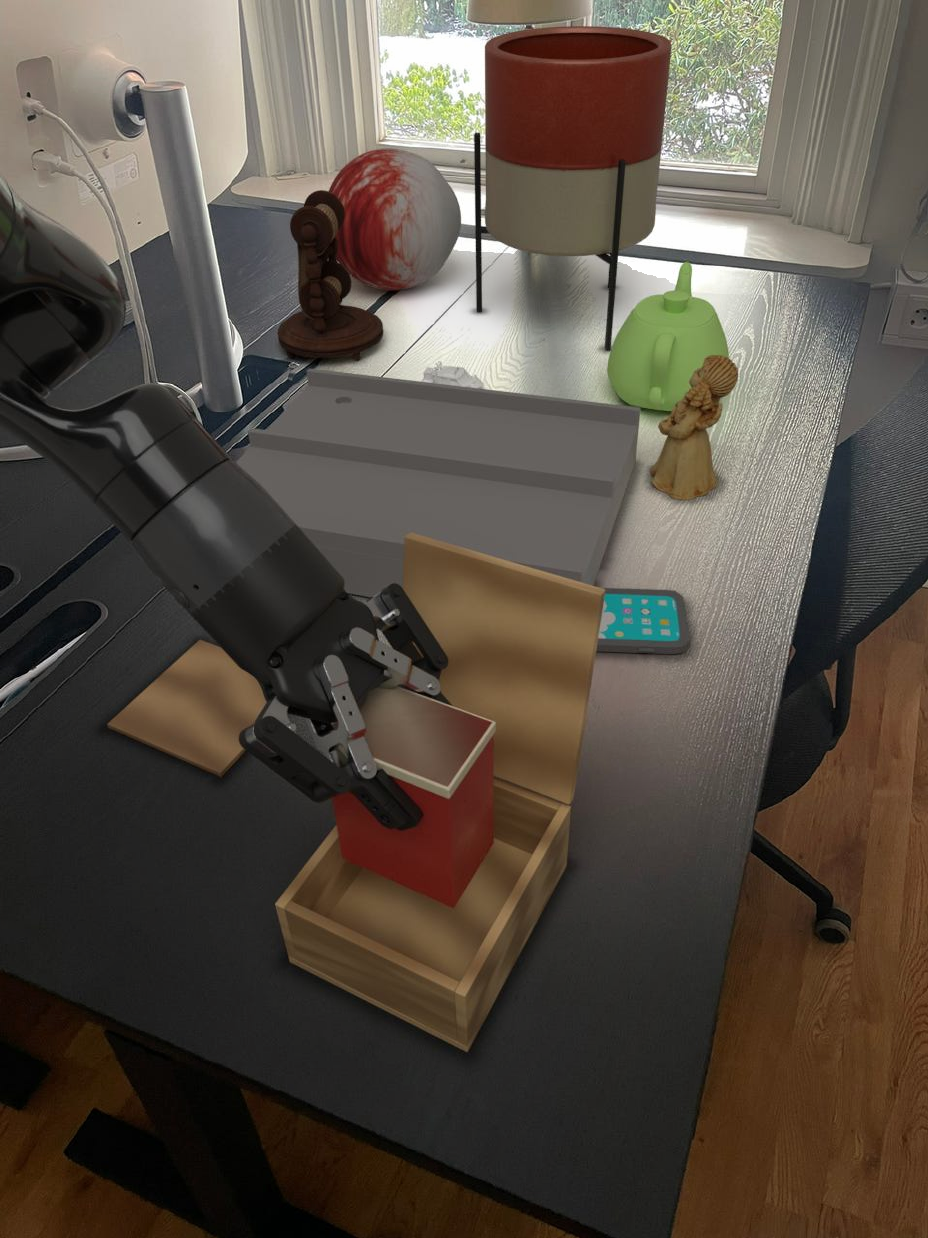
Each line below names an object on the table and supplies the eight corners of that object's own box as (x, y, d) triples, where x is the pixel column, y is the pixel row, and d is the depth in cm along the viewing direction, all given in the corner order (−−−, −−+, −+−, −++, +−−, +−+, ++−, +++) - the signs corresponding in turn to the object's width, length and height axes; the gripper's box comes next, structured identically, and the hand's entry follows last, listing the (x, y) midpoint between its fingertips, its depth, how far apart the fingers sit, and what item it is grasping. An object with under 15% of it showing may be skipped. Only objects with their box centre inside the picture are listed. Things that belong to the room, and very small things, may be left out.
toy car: (431, 383, 129) (429, 353, 126) (489, 390, 127) (489, 360, 124) (419, 399, 125) (417, 369, 123) (478, 407, 123) (478, 377, 121)
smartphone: (524, 582, 94) (682, 587, 93) (524, 591, 94) (681, 595, 93) (520, 642, 87) (690, 648, 86) (520, 650, 88) (689, 656, 87)
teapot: (623, 348, 136) (631, 253, 127) (733, 359, 132) (749, 263, 124) (591, 422, 120) (598, 319, 111) (715, 438, 116) (732, 333, 108)
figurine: (652, 459, 113) (667, 335, 103) (720, 466, 111) (742, 341, 102) (646, 496, 107) (660, 368, 97) (717, 503, 105) (740, 375, 96)
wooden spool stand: (295, 321, 145) (276, 180, 132) (393, 325, 143) (382, 182, 130) (267, 365, 134) (242, 215, 121) (372, 370, 132) (358, 218, 119)
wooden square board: (221, 777, 77) (220, 773, 77) (108, 728, 82) (106, 724, 81) (308, 683, 85) (307, 679, 85) (200, 643, 90) (199, 639, 90)
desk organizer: (577, 633, 89) (580, 572, 85) (189, 564, 99) (174, 507, 94) (635, 462, 112) (640, 407, 108) (316, 420, 122) (309, 367, 117)
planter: (679, 304, 147) (713, 34, 124) (588, 364, 132) (608, 70, 109) (550, 271, 158) (559, 18, 135) (453, 323, 143) (445, 48, 121)
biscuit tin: (454, 911, 58) (448, 790, 51) (339, 859, 61) (319, 738, 54) (496, 842, 62) (496, 721, 55) (386, 797, 65) (372, 676, 58)
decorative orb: (336, 316, 146) (320, 175, 133) (327, 268, 161) (312, 137, 149) (473, 303, 149) (471, 164, 136) (451, 257, 164) (448, 128, 151)
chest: (467, 1053, 60) (465, 996, 56) (289, 962, 65) (274, 904, 61) (566, 866, 70) (571, 806, 66) (406, 800, 75) (401, 740, 71)
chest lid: (601, 594, 57) (606, 588, 57) (403, 536, 62) (410, 531, 62) (569, 805, 65) (573, 798, 66) (397, 739, 70) (403, 733, 71)
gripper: (179, 616, 46) (414, 868, 49) (348, 471, 55) (534, 689, 58) (121, 665, 51) (336, 889, 54) (284, 525, 61) (458, 723, 64)
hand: (438, 784), depth 56 cm, fingers closed on biscuit tin, 5 cm apart
